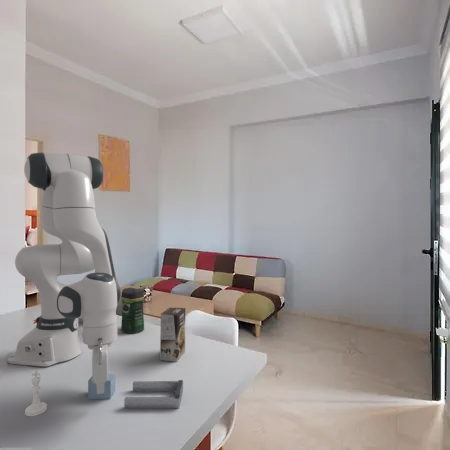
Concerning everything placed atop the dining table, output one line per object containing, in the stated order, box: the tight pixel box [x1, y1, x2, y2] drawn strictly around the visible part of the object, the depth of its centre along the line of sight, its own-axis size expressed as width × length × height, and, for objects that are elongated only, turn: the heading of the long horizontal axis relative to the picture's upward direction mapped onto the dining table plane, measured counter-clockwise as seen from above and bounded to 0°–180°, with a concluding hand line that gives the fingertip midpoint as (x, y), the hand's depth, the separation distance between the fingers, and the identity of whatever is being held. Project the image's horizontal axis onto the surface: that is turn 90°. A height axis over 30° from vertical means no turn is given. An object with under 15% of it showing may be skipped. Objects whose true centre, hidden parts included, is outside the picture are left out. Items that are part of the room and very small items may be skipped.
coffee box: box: [159, 307, 187, 363], centre depth 113 cm, size 9×6×16 cm
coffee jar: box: [120, 287, 145, 335], centre depth 137 cm, size 10×8×19 cm
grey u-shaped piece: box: [123, 379, 184, 410], centre depth 86 cm, size 14×9×3 cm, turn 91°
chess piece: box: [24, 370, 48, 417], centre depth 80 cm, size 5×5×10 cm
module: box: [87, 373, 116, 400], centre depth 87 cm, size 6×4×6 cm, turn 91°
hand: (100, 383), depth 87 cm, fingers open, 8 cm apart
